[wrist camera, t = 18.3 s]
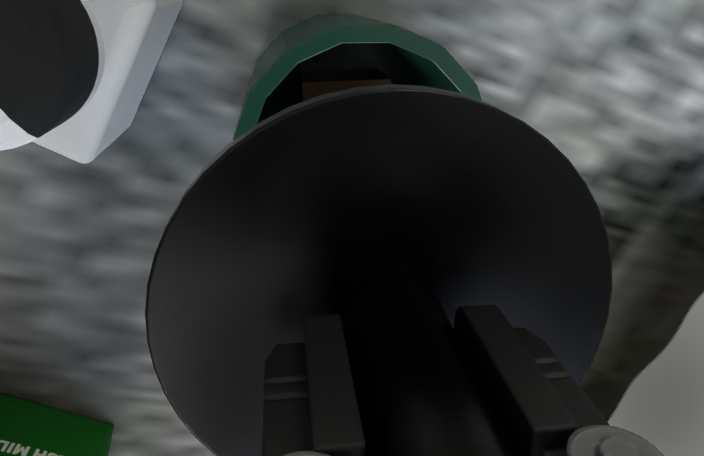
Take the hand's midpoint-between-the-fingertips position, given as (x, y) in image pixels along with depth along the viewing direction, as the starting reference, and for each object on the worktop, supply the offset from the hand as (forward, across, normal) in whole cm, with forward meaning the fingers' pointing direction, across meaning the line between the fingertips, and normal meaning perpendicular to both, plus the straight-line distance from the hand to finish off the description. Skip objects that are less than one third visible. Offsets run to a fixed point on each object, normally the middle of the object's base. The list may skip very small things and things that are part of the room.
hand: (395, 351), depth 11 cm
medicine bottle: (+21, +11, -5) cm, 24 cm away
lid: (+1, 0, 0) cm, 1 cm away
